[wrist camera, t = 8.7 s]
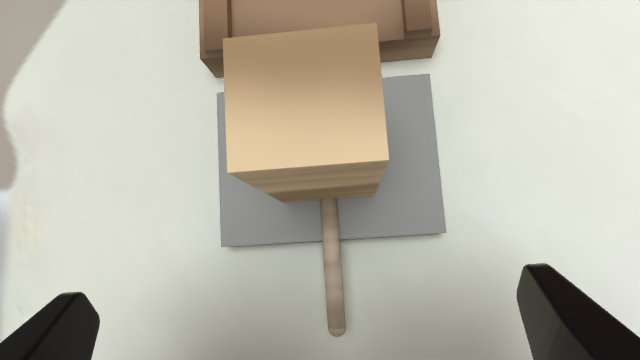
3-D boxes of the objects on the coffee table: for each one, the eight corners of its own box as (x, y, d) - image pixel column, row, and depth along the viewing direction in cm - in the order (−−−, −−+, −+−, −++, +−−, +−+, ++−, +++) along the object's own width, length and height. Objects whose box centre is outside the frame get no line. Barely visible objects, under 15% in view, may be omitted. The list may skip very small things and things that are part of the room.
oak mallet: (385, 332, 20) (412, 410, 11) (290, 336, 20) (235, 417, 11) (367, 117, 22) (377, 22, 12) (279, 125, 22) (222, 38, 13)
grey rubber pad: (440, 233, 22) (446, 232, 21) (229, 246, 23) (221, 247, 21) (424, 84, 23) (429, 73, 22) (225, 102, 24) (216, 93, 22)
